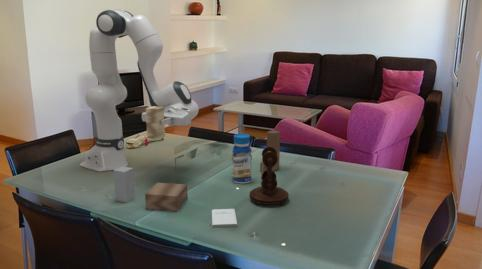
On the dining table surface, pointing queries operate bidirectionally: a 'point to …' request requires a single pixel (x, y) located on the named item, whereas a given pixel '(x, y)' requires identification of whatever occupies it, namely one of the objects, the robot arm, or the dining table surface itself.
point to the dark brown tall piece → (269, 182)
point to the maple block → (155, 122)
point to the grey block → (124, 184)
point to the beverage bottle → (241, 159)
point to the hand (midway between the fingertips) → (154, 121)
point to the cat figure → (140, 141)
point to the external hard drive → (224, 218)
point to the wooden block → (274, 142)
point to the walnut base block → (166, 196)
